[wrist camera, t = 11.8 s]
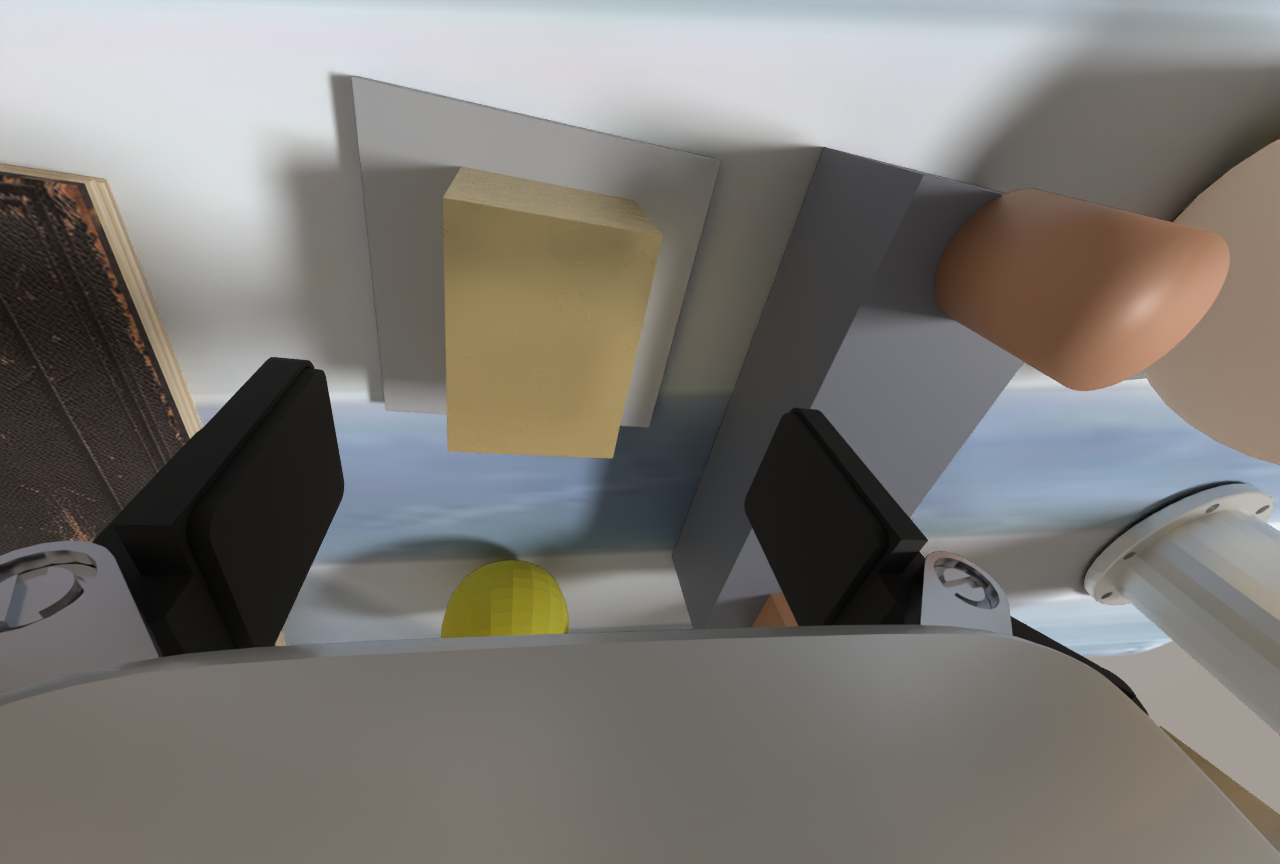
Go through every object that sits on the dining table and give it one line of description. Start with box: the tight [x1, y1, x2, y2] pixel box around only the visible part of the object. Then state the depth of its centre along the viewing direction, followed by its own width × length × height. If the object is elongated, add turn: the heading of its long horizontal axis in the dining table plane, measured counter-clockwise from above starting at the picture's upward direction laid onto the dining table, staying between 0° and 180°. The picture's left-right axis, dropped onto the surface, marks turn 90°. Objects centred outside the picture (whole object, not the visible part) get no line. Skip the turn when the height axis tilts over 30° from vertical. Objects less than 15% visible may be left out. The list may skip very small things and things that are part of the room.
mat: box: [352, 76, 721, 428], centre depth 16 cm, size 10×10×1 cm
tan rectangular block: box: [443, 167, 663, 458], centre depth 15 cm, size 5×7×4 cm
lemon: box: [441, 560, 569, 638], centre depth 21 cm, size 7×6×10 cm
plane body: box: [672, 147, 1230, 629], centre depth 18 cm, size 7×20×10 cm, turn 168°
